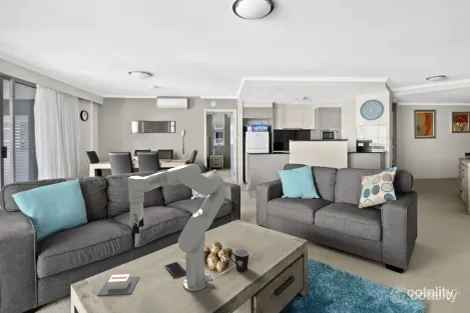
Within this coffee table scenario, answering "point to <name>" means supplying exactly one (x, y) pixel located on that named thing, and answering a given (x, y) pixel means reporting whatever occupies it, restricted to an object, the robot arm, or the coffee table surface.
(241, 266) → the coffee mug
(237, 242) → the coffee table surface
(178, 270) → the phone
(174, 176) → the robot arm
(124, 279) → the card box
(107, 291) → the mat
